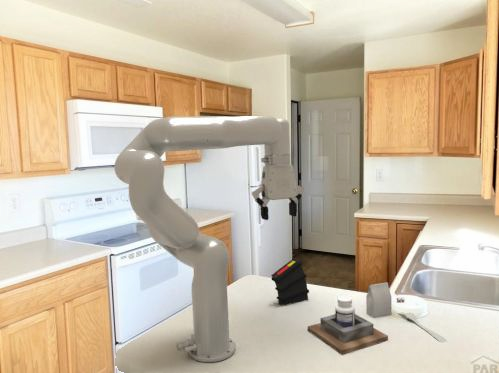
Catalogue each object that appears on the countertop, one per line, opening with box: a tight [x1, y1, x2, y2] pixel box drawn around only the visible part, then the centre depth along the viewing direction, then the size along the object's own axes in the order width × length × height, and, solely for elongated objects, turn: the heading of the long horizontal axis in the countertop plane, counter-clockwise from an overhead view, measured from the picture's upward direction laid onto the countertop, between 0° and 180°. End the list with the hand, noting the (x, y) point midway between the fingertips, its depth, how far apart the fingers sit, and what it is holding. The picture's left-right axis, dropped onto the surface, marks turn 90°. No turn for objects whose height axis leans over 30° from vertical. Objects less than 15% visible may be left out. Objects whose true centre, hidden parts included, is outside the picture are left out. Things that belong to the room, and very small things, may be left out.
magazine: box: [270, 257, 310, 306], centre depth 140 cm, size 4×13×15 cm, turn 117°
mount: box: [307, 313, 389, 356], centre depth 114 cm, size 16×16×4 cm
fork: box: [402, 312, 448, 343], centre depth 118 cm, size 3×21×3 cm, turn 15°
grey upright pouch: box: [365, 281, 392, 319], centre depth 127 cm, size 4×7×10 cm, turn 109°
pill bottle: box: [334, 295, 356, 328], centre depth 114 cm, size 5×5×10 cm
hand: (279, 217), depth 120 cm, fingers open, 9 cm apart
